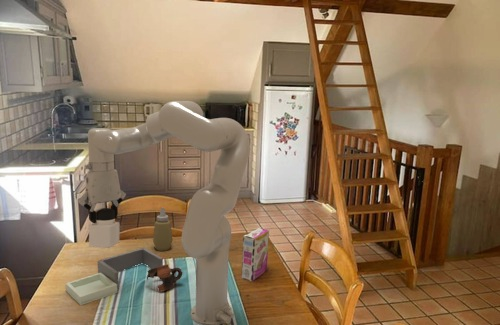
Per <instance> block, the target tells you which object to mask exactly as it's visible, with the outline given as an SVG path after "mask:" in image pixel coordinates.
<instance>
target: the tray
mask: <svg viewBox="0 0 500 325" xmlns="http://www.w3.org/2000/svg"><path fill="white" fill-rule="evenodd" d="M65 292H66V293H67V294H68V295H69V297H72V299H74V300H75V302H77V304H79V305H80V306H84V305H87V304H89V303H92V302H95V301H97V300H101V299H104V298H106V297H108V296H112V295H115V294H117V293H118V289H117V284H115V283H114V282H113V281H112V280H110V279H109V278H108V277H106V276H105V275H104V274H102V273H98V272H97V273H95V274H91V275H88V276H85V277H82V278H77V279H75V280H72V281H69V282H65Z"/></svg>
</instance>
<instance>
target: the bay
mask: <svg viewBox="0 0 500 325" xmlns="http://www.w3.org/2000/svg"><path fill="white" fill-rule="evenodd" d="M163 259H164V258H163V257H161V256H159V255H158V254H156V253H154V252H153V251H150V250H149V249H147V248H145V247H142V248H137V249H135V250H130V251H127V252H124V253H121V254H117V255H112V256H109V257H106V258H103V259H98V260H97V273H102V274H104V275H105V276H106V277H108V278H109V279H110V280H112V281H113V282H114V283H115V284H117V290H120V289H119V287H120V286H119V285H120V284H119V282H120V281H119V272H122V271H125V270H124V269H126V270H128V269H127V268H129V269H131V268H130V267H132V266H135V265H138V264H141V263H144V264H146V265H148V266H149V267H150V268H152V269H153V268H157V267H160V266H163V265H164V263H163V262H164V260H163ZM144 264H143V265H144ZM138 266H139V265H138ZM135 267H136V266H135ZM149 267H148V268H149ZM132 268H133V267H132ZM150 268H149V269H150Z"/></svg>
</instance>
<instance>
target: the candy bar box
mask: <svg viewBox="0 0 500 325" xmlns="http://www.w3.org/2000/svg"><path fill="white" fill-rule="evenodd" d="M269 234H270V230H269V229H265V228H259V227H258V228H256V229H254V230H252V231H250V232H248V233H246V234H245V235H243V239H242V256H241V257H242V260H241V262H242V263H241V279H244V280H246V281H249V282H254V281H255V280H256V279H258V278H259V277H260V276H261V275H262V274H264V273H265V272H266V271H267V270H268V253H269V236H270V235H269Z"/></svg>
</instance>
